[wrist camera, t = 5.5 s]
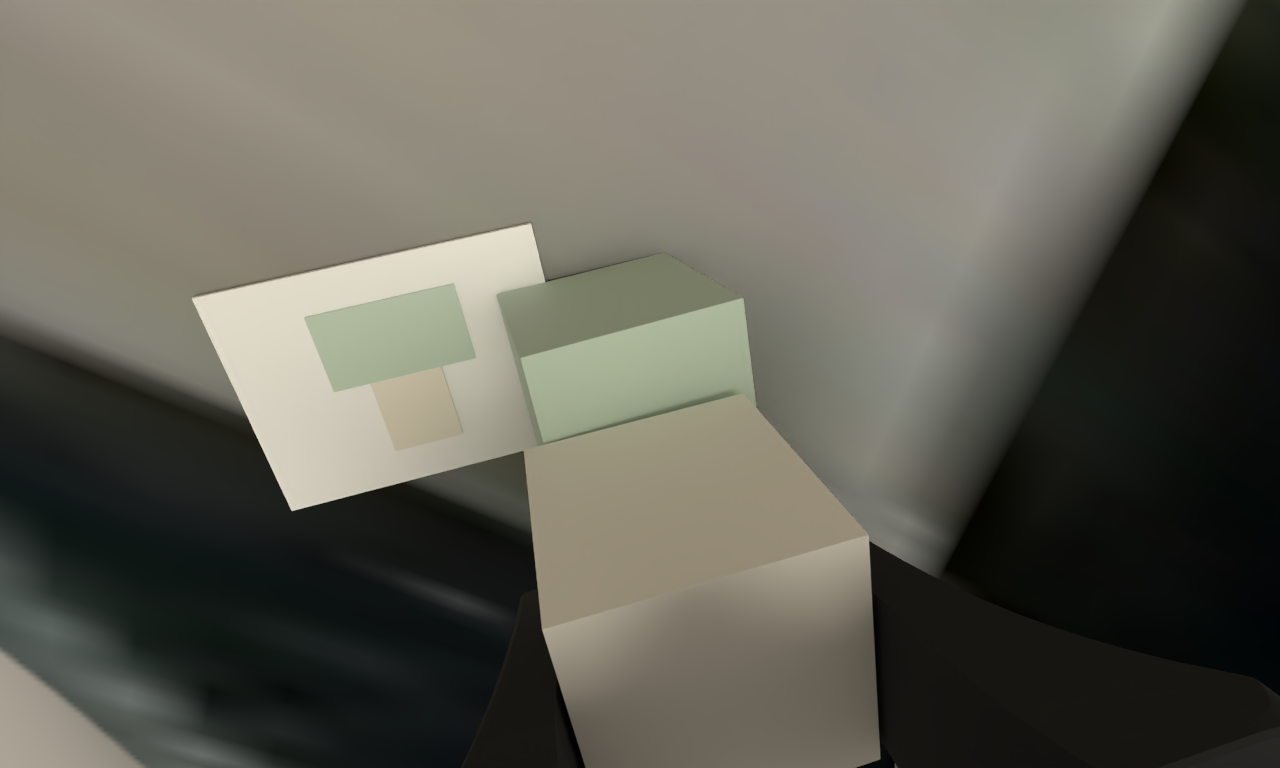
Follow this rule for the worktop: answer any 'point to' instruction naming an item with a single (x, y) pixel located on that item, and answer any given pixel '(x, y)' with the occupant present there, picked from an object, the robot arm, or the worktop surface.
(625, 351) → the sage brick
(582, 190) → the worktop surface
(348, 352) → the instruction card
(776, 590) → the ivory brick
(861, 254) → the worktop surface
